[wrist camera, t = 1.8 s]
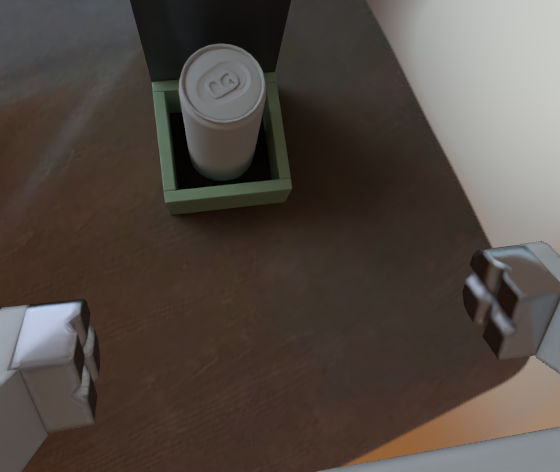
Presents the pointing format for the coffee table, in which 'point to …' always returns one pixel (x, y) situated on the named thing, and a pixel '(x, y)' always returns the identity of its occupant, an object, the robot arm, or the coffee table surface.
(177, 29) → the stand
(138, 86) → the coffee table surface
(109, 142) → the coffee table surface
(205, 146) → the beverage can
